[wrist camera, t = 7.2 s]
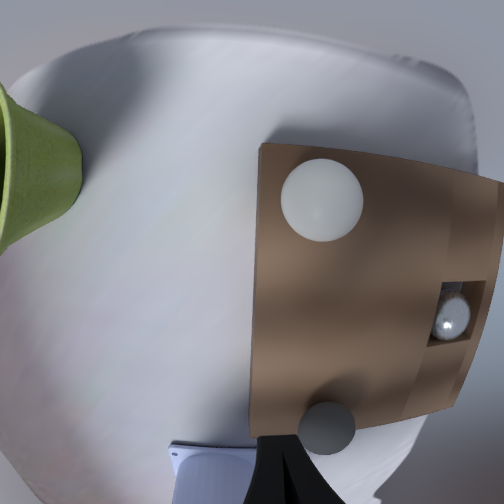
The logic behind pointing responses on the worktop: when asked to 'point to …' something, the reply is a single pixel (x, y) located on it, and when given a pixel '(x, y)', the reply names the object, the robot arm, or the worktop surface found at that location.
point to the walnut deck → (368, 291)
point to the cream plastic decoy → (322, 200)
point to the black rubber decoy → (326, 428)
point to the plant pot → (34, 171)
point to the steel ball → (450, 315)
